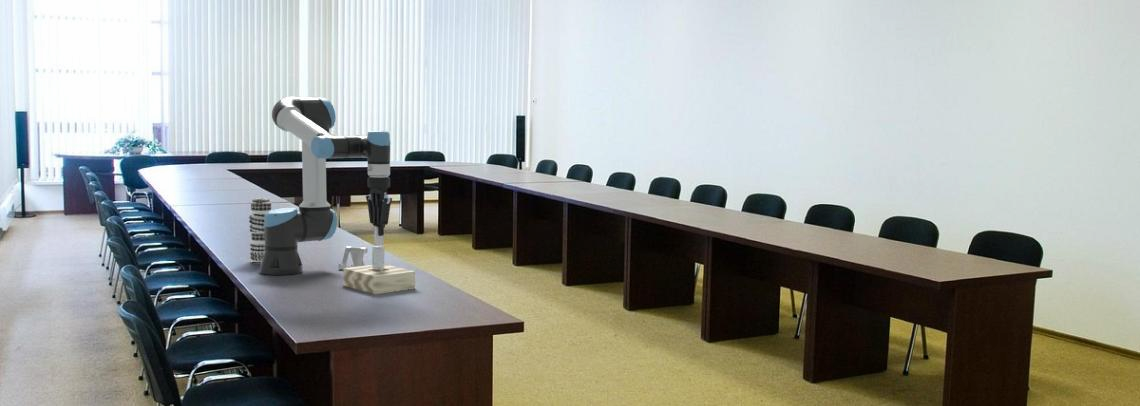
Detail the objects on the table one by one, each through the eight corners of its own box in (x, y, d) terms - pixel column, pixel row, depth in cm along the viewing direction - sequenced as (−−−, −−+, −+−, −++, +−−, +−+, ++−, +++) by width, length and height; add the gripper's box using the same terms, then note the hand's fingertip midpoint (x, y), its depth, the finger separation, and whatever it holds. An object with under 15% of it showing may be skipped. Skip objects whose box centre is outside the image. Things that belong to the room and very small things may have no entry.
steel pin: (370, 286, 328) (370, 246, 326) (380, 285, 330) (380, 245, 329) (376, 288, 325) (376, 247, 323) (386, 287, 328) (386, 246, 326)
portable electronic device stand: (338, 270, 359) (338, 248, 359) (350, 267, 367) (350, 245, 366) (357, 271, 356) (357, 249, 355) (369, 268, 364) (369, 247, 363)
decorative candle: (279, 261, 376) (278, 198, 374) (260, 264, 368) (259, 200, 366) (263, 258, 381) (262, 196, 379) (244, 261, 373) (243, 198, 371)
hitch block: (343, 285, 329) (343, 268, 328) (382, 280, 340) (382, 263, 340) (374, 294, 315) (374, 276, 314) (414, 288, 326) (415, 271, 325)
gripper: (358, 175, 326) (359, 243, 328) (379, 178, 316) (379, 248, 319) (377, 174, 331) (377, 241, 333) (398, 177, 322) (398, 246, 324)
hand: (378, 244), depth 326 cm, fingers closed
